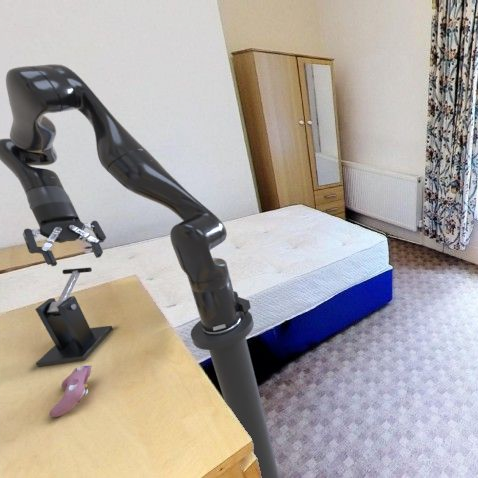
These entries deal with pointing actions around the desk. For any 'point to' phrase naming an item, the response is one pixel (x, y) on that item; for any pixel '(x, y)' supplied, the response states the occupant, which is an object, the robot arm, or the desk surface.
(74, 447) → the desk surface
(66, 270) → the lever
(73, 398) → the pink curved piece
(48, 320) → the bracket
